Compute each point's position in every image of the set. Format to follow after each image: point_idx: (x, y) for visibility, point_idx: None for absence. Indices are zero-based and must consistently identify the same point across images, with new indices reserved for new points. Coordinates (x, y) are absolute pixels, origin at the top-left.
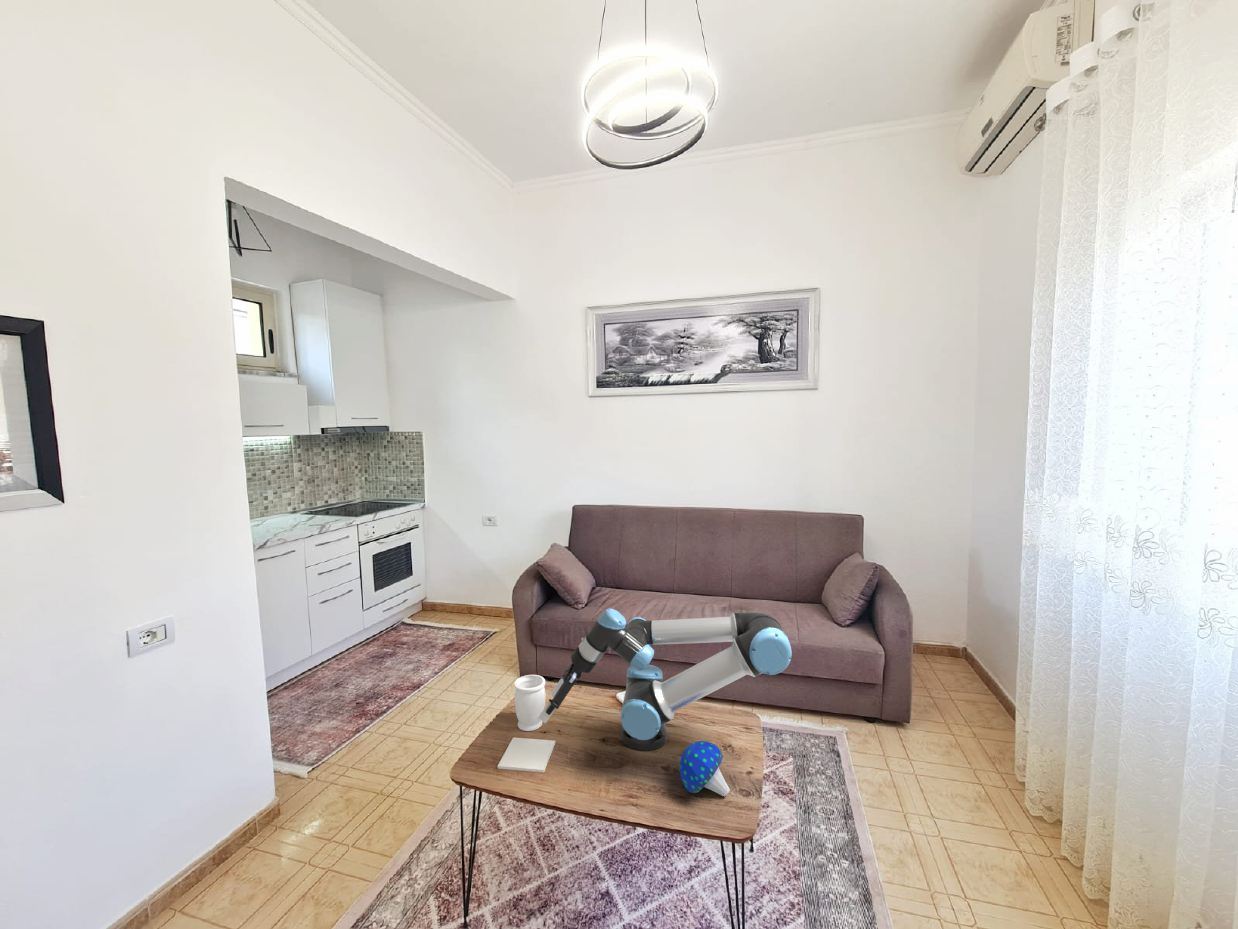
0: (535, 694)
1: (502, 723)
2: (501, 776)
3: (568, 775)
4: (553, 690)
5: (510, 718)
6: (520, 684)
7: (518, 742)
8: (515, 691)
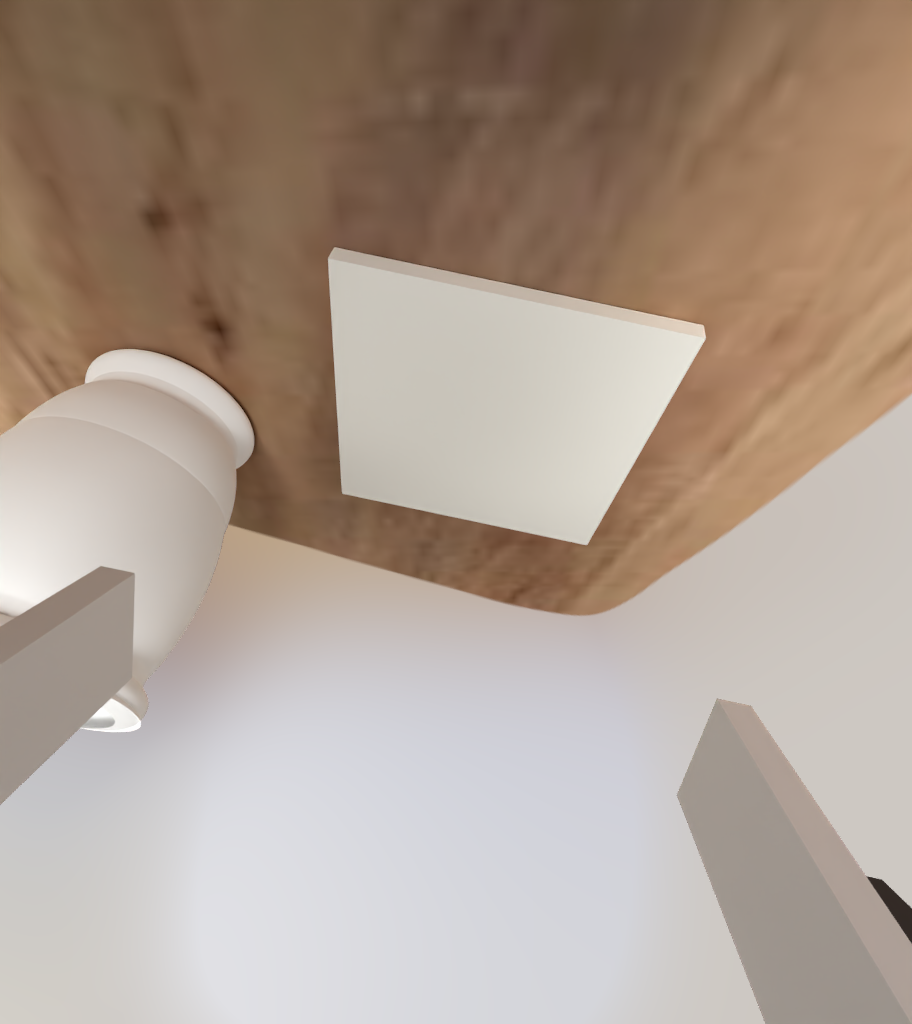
0: None
1: None
2: (655, 521)
3: (842, 93)
4: (79, 717)
5: None
6: None
7: (384, 473)
8: None
